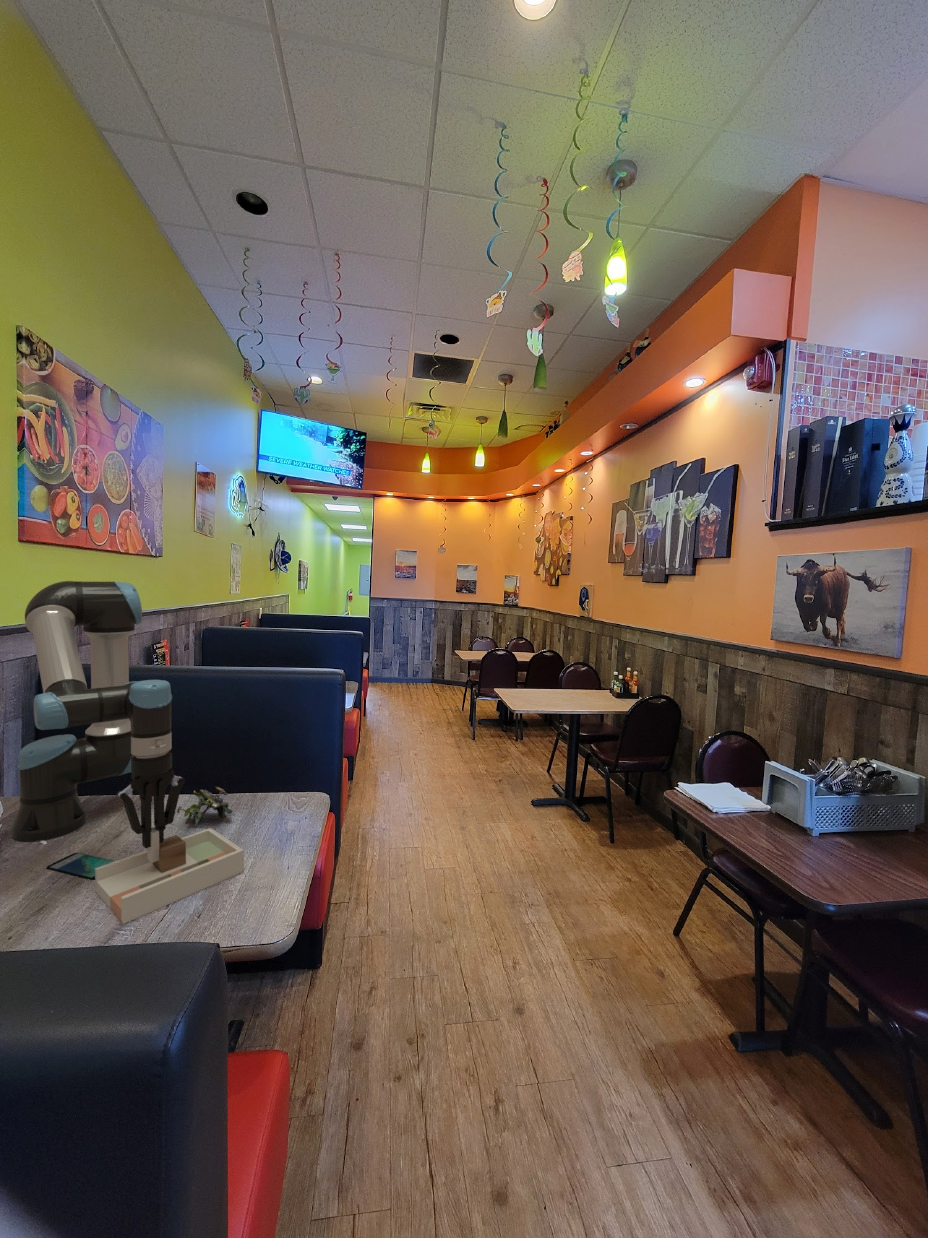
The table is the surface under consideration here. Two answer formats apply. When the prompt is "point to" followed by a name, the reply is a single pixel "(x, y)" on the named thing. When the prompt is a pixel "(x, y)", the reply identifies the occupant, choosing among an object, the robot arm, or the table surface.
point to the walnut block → (171, 854)
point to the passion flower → (211, 801)
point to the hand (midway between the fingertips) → (153, 859)
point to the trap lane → (167, 876)
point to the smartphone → (79, 865)
